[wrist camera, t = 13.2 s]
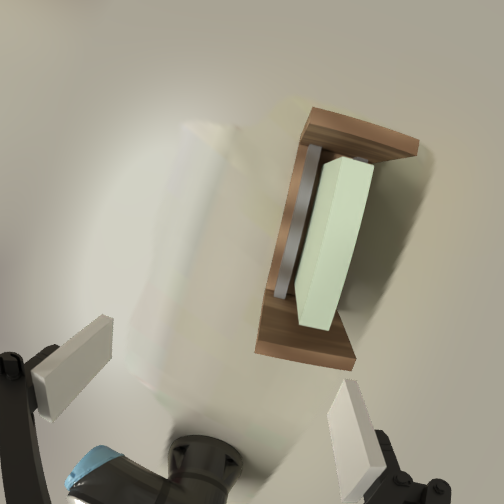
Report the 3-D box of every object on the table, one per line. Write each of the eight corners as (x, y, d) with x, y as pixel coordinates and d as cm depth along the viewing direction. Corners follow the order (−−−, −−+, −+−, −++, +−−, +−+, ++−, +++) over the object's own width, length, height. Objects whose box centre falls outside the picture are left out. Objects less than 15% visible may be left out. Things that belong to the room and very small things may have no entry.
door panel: (319, 286, 43) (334, 331, 29) (294, 280, 43) (299, 324, 30) (348, 171, 39) (380, 167, 26) (322, 164, 40) (342, 156, 26)
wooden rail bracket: (330, 310, 45) (351, 371, 29) (263, 296, 45) (254, 352, 30) (371, 153, 39) (419, 140, 24) (301, 134, 40) (312, 106, 24)
